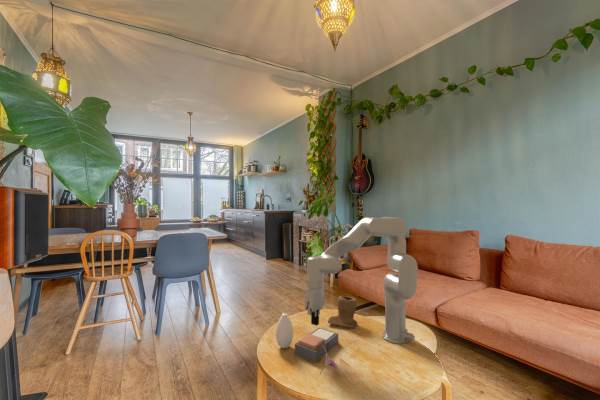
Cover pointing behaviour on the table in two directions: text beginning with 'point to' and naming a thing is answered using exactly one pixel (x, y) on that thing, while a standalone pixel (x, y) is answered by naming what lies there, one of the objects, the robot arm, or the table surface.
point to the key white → (323, 334)
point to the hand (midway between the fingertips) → (315, 324)
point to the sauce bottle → (284, 331)
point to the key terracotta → (311, 341)
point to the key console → (319, 352)
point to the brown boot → (345, 312)
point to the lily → (330, 362)
